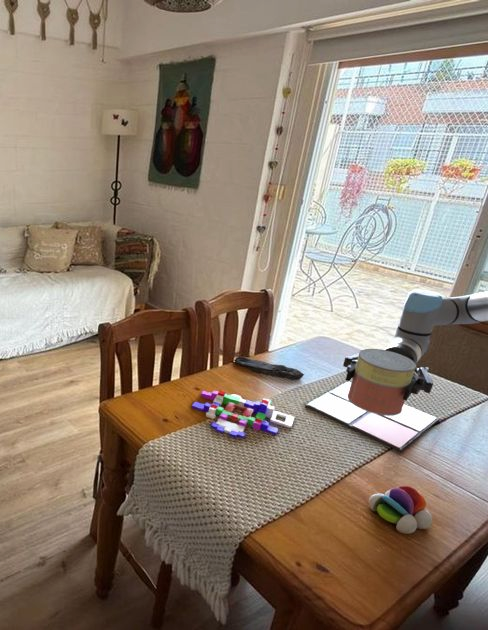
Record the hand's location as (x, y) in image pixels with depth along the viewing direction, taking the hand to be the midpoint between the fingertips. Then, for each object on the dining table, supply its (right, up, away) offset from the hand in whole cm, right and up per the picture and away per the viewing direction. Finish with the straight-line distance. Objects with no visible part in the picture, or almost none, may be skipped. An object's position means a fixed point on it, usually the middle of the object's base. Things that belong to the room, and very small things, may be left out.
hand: (376, 385), depth 103 cm
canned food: (+3, -5, +5) cm, 8 cm away
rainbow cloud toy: (-6, -25, -14) cm, 29 cm away
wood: (-7, -3, +43) cm, 43 cm away
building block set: (-25, -12, +18) cm, 33 cm away
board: (+12, -11, +20) cm, 26 cm away
